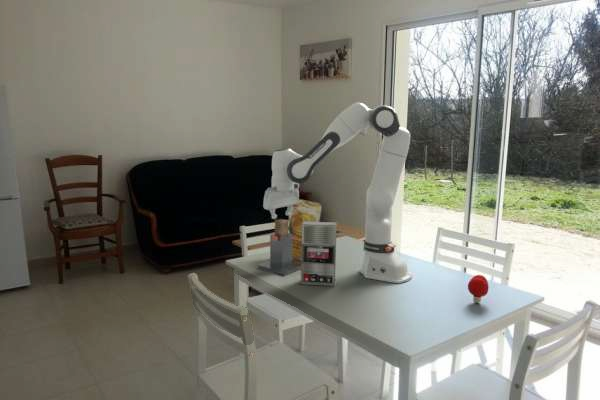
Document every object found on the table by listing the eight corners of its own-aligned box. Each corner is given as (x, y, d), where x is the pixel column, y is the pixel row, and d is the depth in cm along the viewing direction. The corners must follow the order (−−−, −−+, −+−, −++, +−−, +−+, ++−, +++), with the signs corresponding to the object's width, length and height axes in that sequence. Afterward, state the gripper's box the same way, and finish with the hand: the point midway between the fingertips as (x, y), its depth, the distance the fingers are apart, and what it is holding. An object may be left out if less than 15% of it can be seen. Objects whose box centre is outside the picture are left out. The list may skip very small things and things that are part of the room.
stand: (304, 267, 208) (305, 234, 205) (285, 275, 197) (285, 240, 194) (277, 260, 217) (278, 228, 215) (257, 268, 207) (257, 234, 204)
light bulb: (484, 309, 165) (486, 282, 163) (464, 304, 169) (466, 278, 167) (489, 300, 173) (491, 275, 171) (469, 296, 176) (471, 271, 175)
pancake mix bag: (292, 252, 231) (292, 197, 226) (322, 260, 219) (323, 202, 213) (283, 255, 226) (283, 198, 221) (312, 263, 214) (313, 204, 209)
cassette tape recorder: (300, 285, 187) (301, 224, 182) (302, 279, 193) (303, 221, 188) (334, 286, 185) (336, 226, 180) (335, 281, 191) (337, 222, 186)
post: (288, 263, 207) (288, 220, 204) (281, 266, 204) (282, 222, 200) (280, 261, 210) (280, 218, 206) (274, 264, 206) (274, 220, 203)
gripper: (271, 189, 190) (270, 221, 193) (301, 184, 206) (300, 214, 209) (260, 187, 194) (259, 219, 197) (290, 182, 210) (290, 212, 213)
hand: (281, 216), depth 203 cm, fingers open, 8 cm apart
